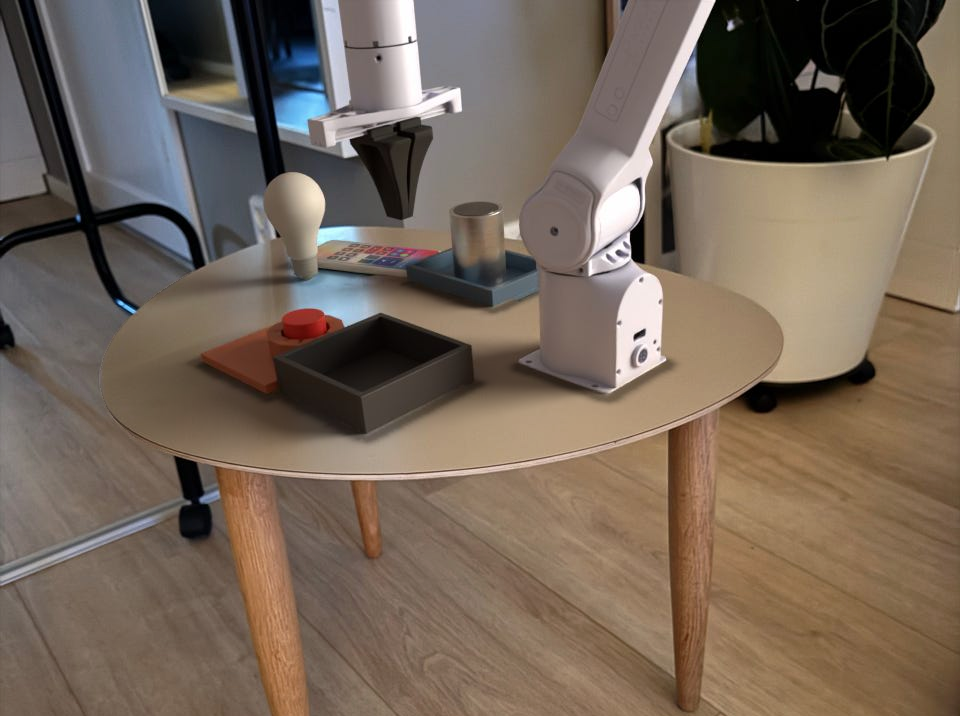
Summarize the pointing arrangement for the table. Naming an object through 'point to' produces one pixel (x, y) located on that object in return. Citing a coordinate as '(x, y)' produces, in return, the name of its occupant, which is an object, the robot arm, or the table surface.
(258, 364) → the control
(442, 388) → the dark grey open box
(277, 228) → the lightbulb
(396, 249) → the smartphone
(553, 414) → the table surface
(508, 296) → the tray
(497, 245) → the steel cup
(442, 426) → the table surface
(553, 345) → the robot arm
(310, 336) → the button
